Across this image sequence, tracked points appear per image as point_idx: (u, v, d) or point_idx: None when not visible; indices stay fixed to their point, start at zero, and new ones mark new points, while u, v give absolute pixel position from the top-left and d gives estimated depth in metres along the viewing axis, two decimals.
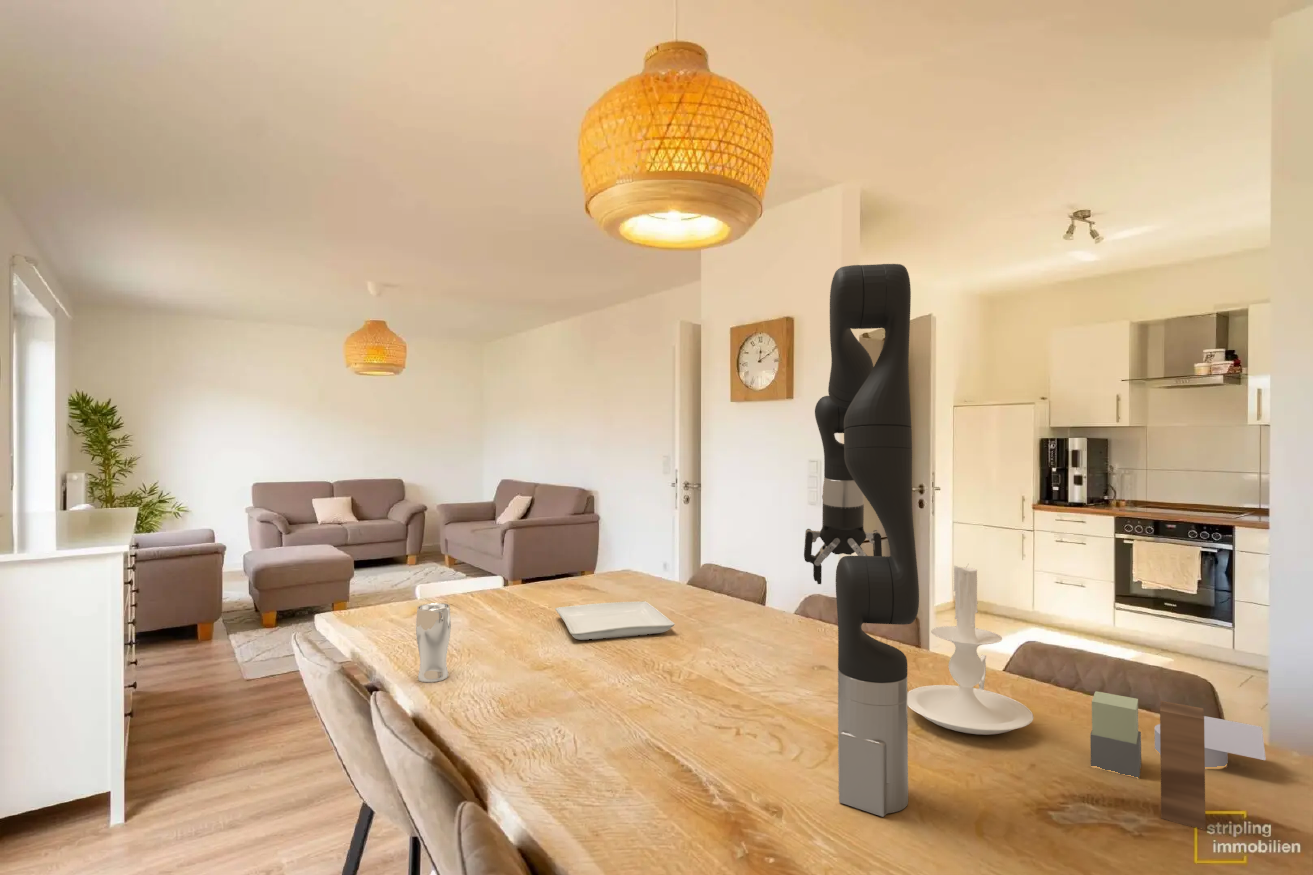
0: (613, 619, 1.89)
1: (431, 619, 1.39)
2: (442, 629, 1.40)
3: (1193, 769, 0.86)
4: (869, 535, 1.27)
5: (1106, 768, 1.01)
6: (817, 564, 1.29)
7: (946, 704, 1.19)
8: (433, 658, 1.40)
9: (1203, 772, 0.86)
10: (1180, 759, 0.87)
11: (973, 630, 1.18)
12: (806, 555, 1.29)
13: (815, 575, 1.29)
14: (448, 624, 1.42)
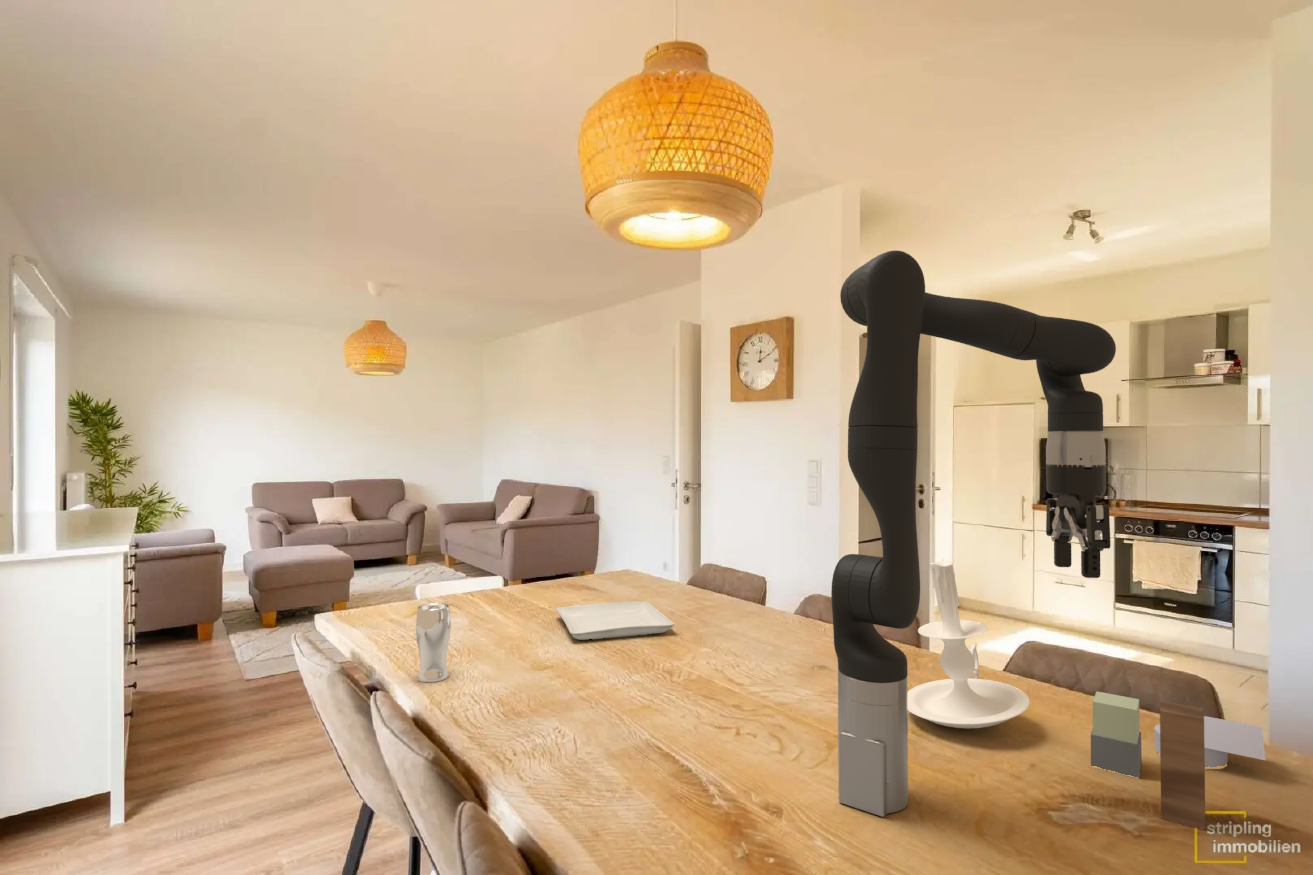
0: (613, 619, 1.89)
1: (431, 619, 1.39)
2: (442, 629, 1.40)
3: (1193, 769, 0.86)
4: None
5: (1106, 768, 1.01)
6: (1052, 539, 1.05)
7: (944, 701, 1.19)
8: (433, 658, 1.40)
9: (1203, 772, 0.86)
10: (1180, 759, 0.87)
11: (958, 624, 1.18)
12: (1047, 527, 1.07)
13: None
14: (448, 624, 1.42)
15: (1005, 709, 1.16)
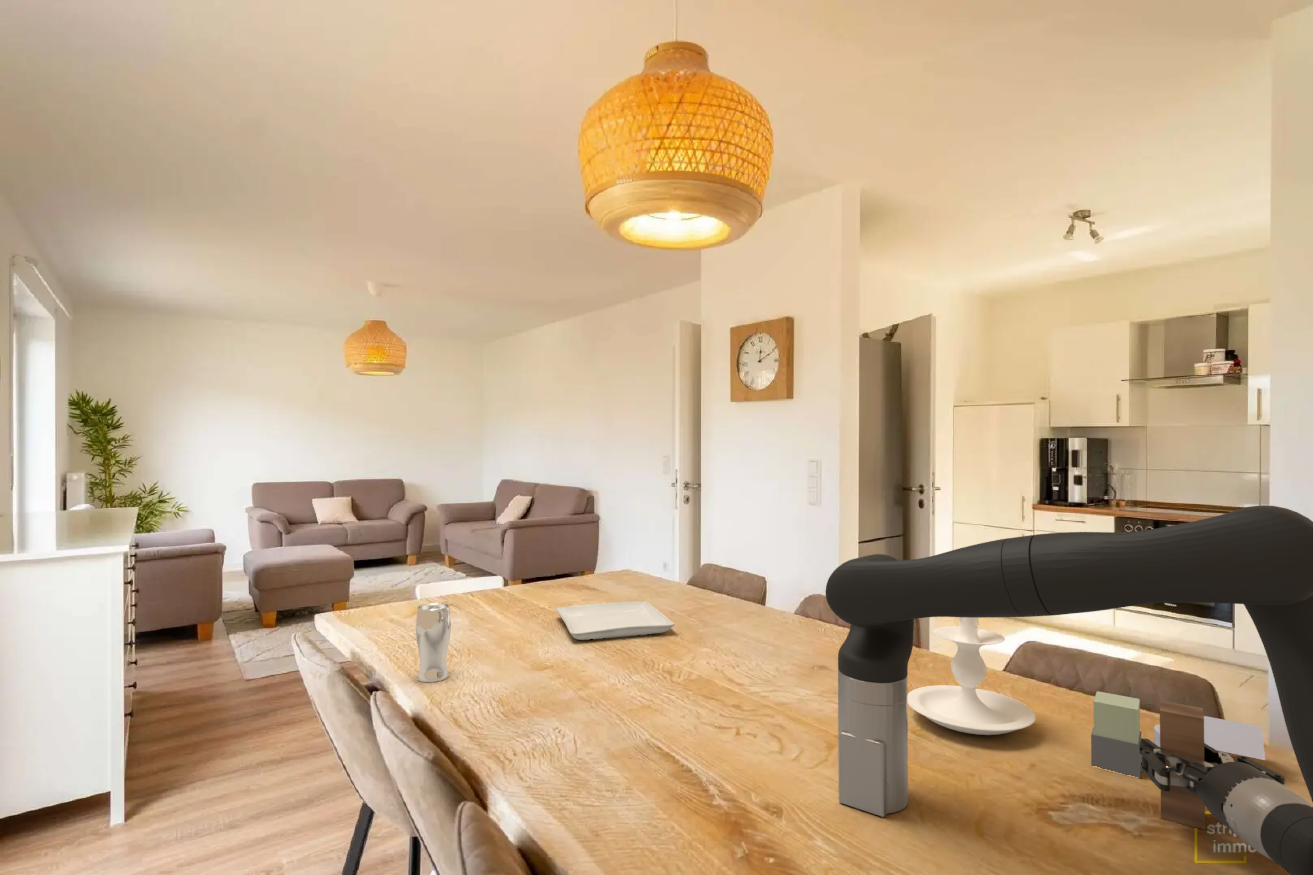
0: (613, 619, 1.89)
1: (431, 619, 1.39)
2: (442, 629, 1.40)
3: None
4: (1177, 776, 0.82)
5: (1107, 768, 1.01)
6: (1222, 752, 0.87)
7: (950, 706, 1.19)
8: (433, 658, 1.40)
9: None
10: None
11: (976, 630, 1.18)
12: (1249, 760, 0.85)
13: (1212, 749, 0.89)
14: (448, 624, 1.42)
15: (1009, 719, 1.16)
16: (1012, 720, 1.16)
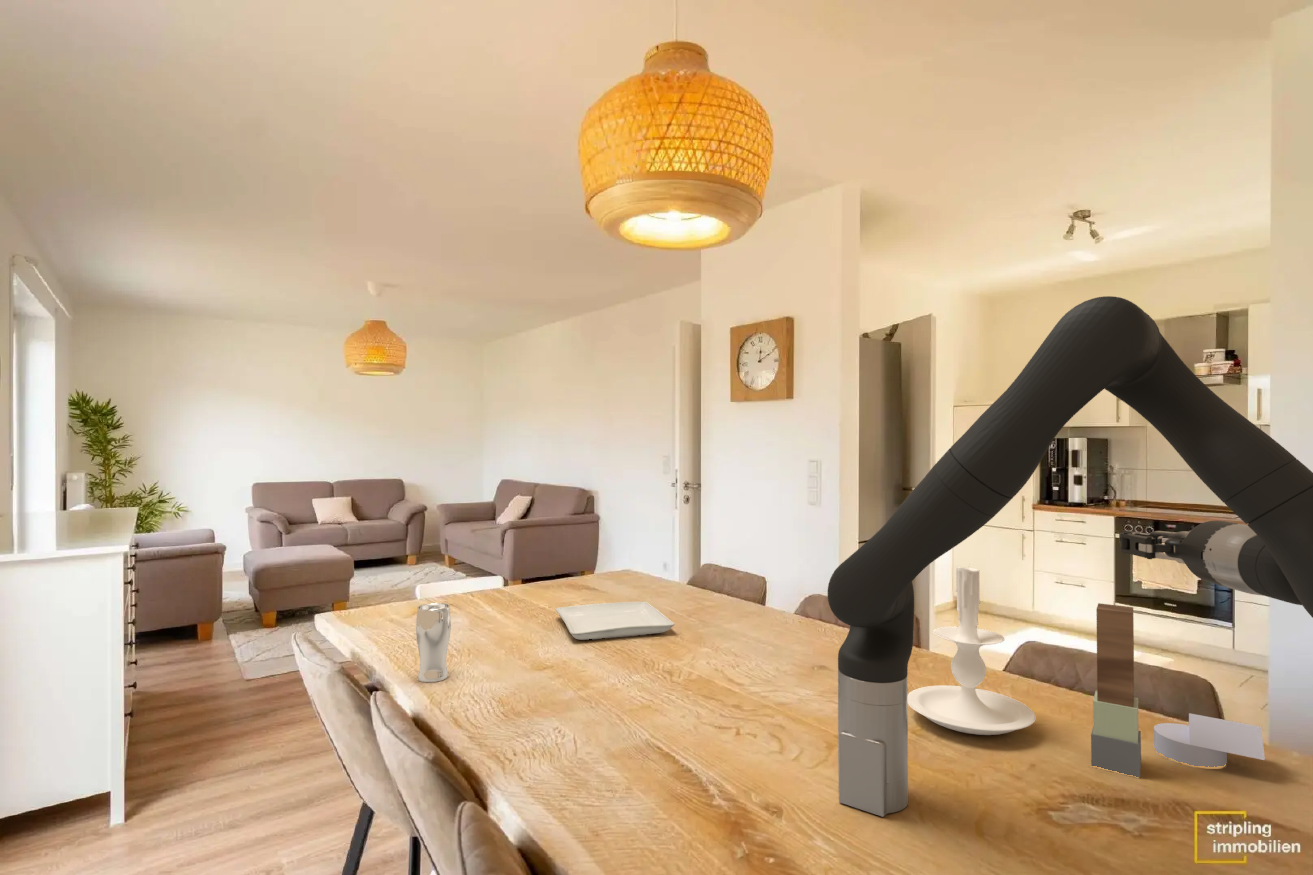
0: (613, 619, 1.89)
1: (431, 619, 1.39)
2: (442, 629, 1.40)
3: (1123, 656, 1.01)
4: (1161, 544, 0.84)
5: (1107, 768, 1.01)
6: None
7: (950, 706, 1.19)
8: (433, 658, 1.40)
9: (1131, 658, 1.00)
10: (1112, 648, 1.02)
11: (976, 630, 1.18)
12: None
13: None
14: (448, 624, 1.42)
15: (1009, 719, 1.16)
16: (1012, 720, 1.16)
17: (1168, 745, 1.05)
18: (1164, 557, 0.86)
